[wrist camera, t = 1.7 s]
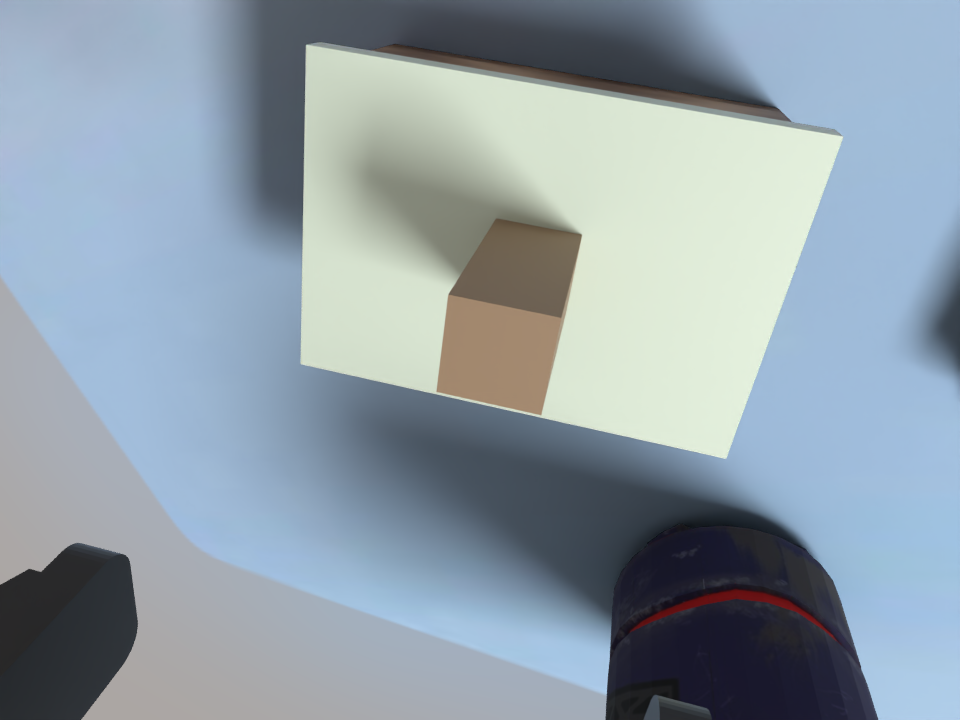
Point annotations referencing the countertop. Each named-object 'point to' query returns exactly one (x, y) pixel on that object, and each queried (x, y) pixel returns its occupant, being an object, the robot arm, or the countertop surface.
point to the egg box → (585, 81)
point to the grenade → (732, 631)
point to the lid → (548, 242)
